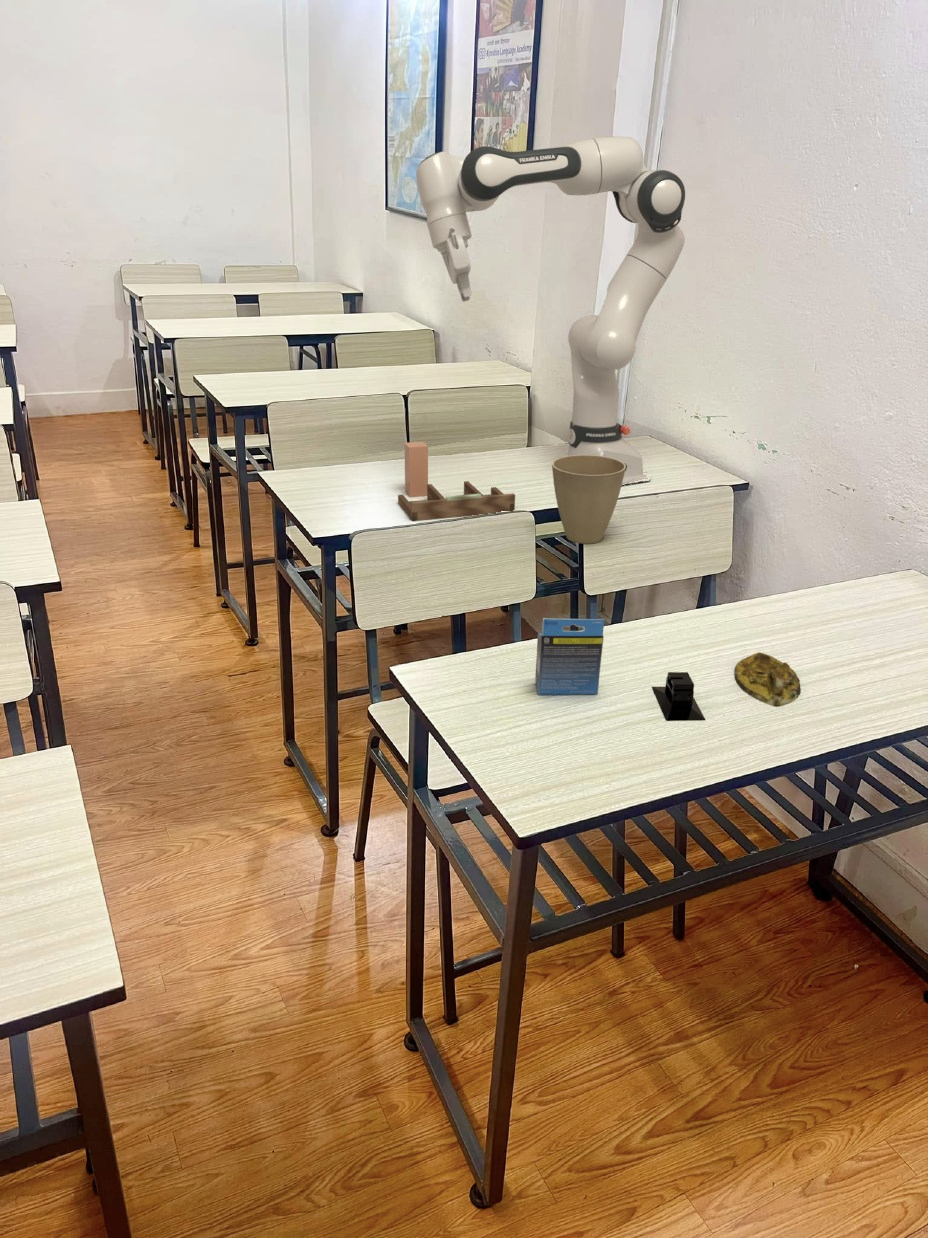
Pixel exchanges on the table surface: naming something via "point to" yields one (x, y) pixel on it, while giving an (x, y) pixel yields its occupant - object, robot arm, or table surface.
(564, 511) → the plant pot
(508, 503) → the box
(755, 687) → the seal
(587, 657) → the label tape box
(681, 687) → the black stand
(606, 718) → the table surface
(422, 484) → the terracotta block
